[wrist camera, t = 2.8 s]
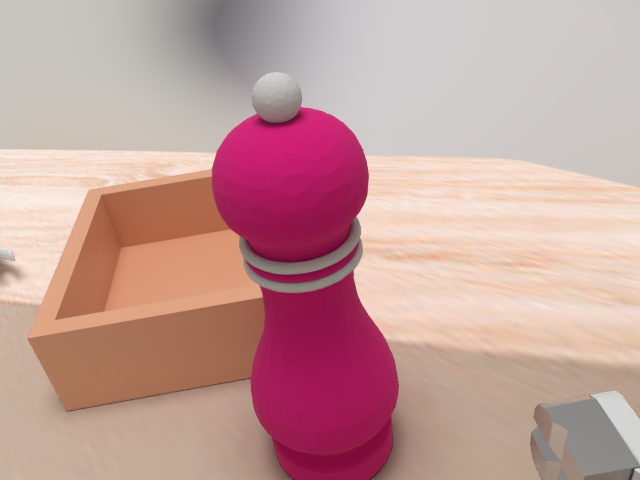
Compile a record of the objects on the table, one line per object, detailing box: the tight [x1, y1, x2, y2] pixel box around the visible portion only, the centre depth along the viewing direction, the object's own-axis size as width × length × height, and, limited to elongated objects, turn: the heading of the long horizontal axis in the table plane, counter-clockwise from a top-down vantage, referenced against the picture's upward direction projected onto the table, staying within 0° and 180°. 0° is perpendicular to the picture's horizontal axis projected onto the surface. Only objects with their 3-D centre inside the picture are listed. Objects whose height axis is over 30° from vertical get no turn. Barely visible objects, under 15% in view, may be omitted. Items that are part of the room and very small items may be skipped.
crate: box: [27, 170, 265, 411], centre depth 41 cm, size 17×17×6 cm
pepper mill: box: [212, 72, 399, 480], centre depth 26 cm, size 7×7×20 cm
